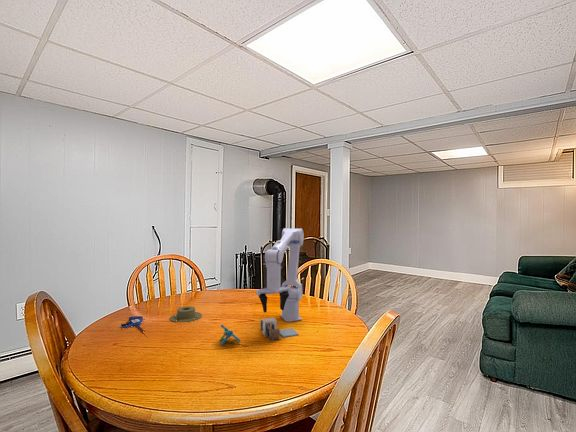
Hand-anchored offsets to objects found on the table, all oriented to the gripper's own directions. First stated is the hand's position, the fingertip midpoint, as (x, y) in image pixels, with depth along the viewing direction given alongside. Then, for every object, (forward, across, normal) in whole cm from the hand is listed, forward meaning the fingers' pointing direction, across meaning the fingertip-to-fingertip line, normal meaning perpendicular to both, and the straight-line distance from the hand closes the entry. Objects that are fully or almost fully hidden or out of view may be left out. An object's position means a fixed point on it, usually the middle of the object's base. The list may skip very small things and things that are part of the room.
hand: (273, 310), depth 127 cm
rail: (+10, -1, +2) cm, 11 cm away
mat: (+10, +6, 0) cm, 12 cm away
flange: (+11, -31, +38) cm, 51 cm away
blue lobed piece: (+11, -18, +1) cm, 21 cm away
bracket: (+10, -1, +2) cm, 11 cm away
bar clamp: (+11, -52, +28) cm, 60 cm away
